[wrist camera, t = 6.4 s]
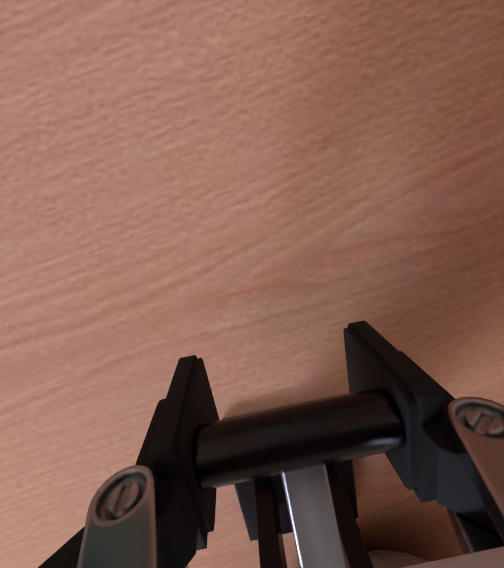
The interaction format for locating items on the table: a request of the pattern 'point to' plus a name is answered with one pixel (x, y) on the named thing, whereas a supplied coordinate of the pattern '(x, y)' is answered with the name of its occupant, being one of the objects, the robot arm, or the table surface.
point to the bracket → (276, 520)
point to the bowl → (393, 559)
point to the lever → (300, 458)
